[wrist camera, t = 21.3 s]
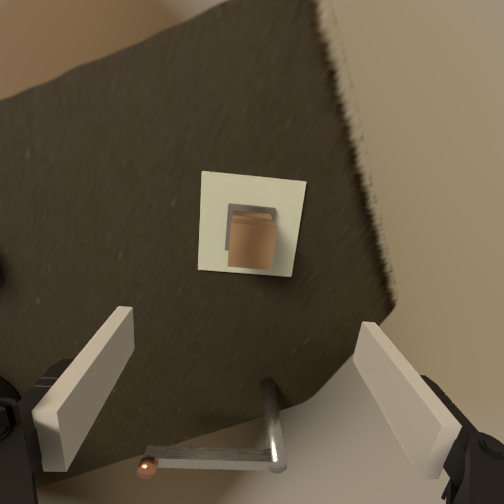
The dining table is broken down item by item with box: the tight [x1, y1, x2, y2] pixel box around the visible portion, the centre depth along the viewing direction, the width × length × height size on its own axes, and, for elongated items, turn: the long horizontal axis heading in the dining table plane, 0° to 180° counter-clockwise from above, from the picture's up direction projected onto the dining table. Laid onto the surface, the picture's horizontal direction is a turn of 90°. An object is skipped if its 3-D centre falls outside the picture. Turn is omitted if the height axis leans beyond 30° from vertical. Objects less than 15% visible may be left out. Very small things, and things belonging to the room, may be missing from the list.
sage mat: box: [198, 171, 306, 277], centre depth 39 cm, size 14×14×1 cm
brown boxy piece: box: [225, 203, 277, 270], centre depth 34 cm, size 6×6×9 cm
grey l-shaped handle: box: [137, 378, 287, 479], centre depth 41 cm, size 2×19×15 cm, turn 84°
